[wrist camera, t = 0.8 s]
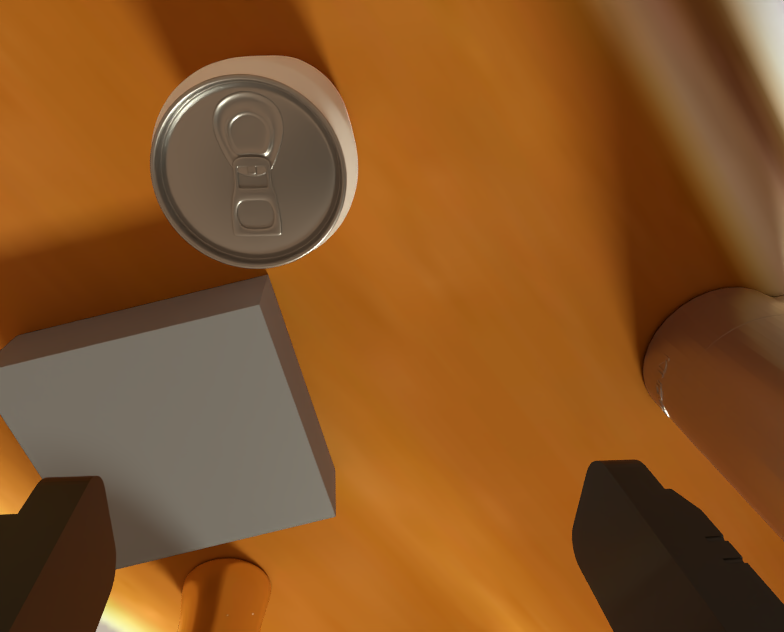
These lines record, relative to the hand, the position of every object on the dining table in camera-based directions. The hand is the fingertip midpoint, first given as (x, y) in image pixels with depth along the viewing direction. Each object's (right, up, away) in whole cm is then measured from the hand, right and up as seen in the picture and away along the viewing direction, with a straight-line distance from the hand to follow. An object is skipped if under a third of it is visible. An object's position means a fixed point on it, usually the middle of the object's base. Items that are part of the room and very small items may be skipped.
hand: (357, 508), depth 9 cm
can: (-5, +12, +18) cm, 22 cm away
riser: (-11, -2, +24) cm, 27 cm away
